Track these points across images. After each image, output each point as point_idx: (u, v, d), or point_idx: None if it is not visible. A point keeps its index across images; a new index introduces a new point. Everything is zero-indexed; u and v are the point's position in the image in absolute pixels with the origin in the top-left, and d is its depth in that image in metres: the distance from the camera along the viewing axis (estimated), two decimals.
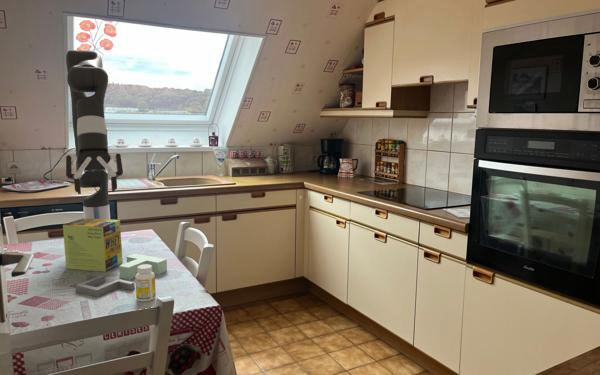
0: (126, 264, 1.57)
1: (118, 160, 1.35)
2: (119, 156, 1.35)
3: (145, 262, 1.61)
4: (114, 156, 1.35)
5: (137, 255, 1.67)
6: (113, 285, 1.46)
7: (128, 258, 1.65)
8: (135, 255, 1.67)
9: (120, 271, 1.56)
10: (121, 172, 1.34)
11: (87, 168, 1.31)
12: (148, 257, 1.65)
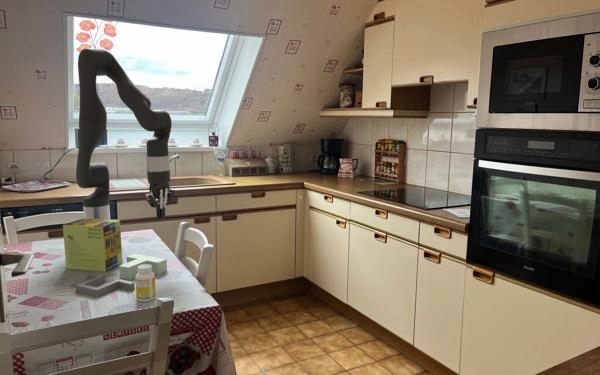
0: (126, 264, 1.57)
1: (171, 194, 1.71)
2: (173, 192, 1.72)
3: (145, 262, 1.61)
4: (170, 189, 1.72)
5: (137, 255, 1.67)
6: (113, 285, 1.46)
7: (128, 258, 1.65)
8: (135, 255, 1.67)
9: (120, 271, 1.56)
10: (168, 203, 1.70)
11: None
12: (148, 257, 1.65)
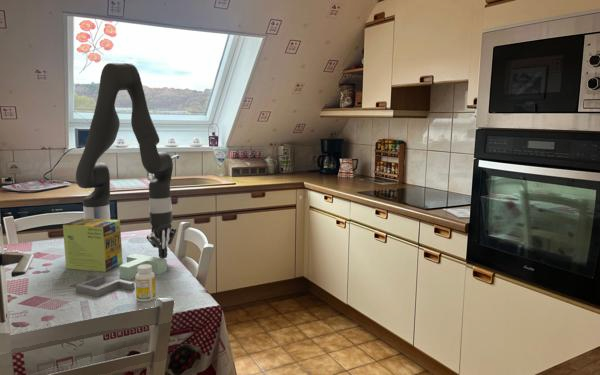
0: (126, 264, 1.57)
1: (173, 234, 1.74)
2: (175, 231, 1.74)
3: (145, 262, 1.61)
4: (172, 229, 1.74)
5: (137, 255, 1.67)
6: (113, 285, 1.46)
7: (128, 258, 1.65)
8: (135, 255, 1.67)
9: (120, 271, 1.56)
10: (170, 243, 1.72)
11: None
12: (148, 257, 1.65)
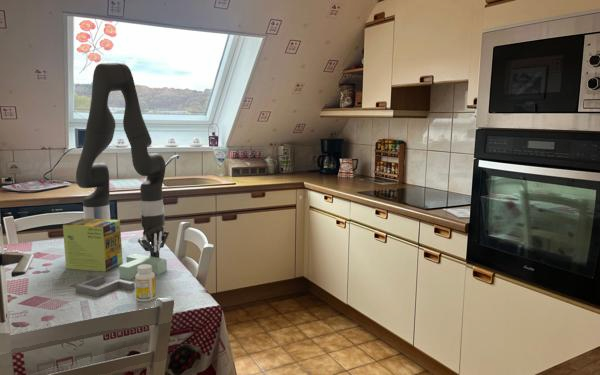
0: (126, 264, 1.57)
1: (165, 237, 1.70)
2: (167, 234, 1.71)
3: (145, 262, 1.61)
4: (164, 232, 1.70)
5: (137, 255, 1.67)
6: (113, 285, 1.46)
7: (128, 258, 1.65)
8: (134, 255, 1.67)
9: (120, 271, 1.56)
10: (162, 246, 1.69)
11: None
12: (148, 257, 1.65)
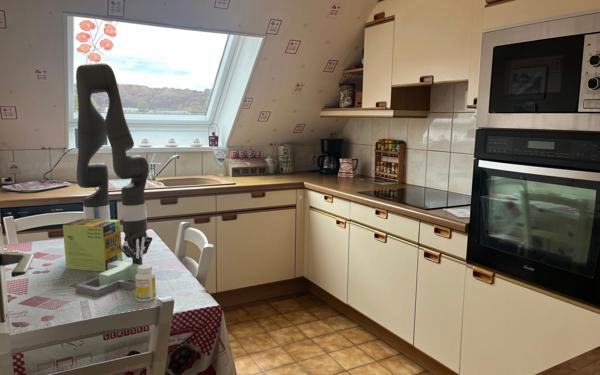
0: (106, 272, 1.50)
1: (149, 242, 1.63)
2: (151, 240, 1.63)
3: (127, 269, 1.54)
4: (147, 237, 1.63)
5: (119, 262, 1.59)
6: (113, 285, 1.46)
7: (109, 265, 1.58)
8: (116, 262, 1.60)
9: (100, 279, 1.49)
10: (145, 252, 1.62)
11: None
12: (130, 264, 1.57)
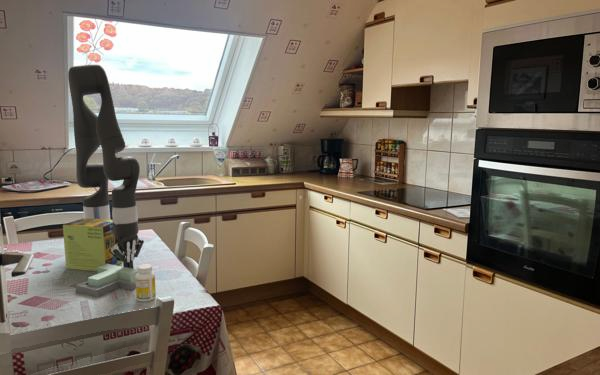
0: (96, 276, 1.47)
1: (140, 245, 1.59)
2: (142, 243, 1.60)
3: (117, 273, 1.50)
4: (139, 240, 1.60)
5: (109, 265, 1.56)
6: (113, 285, 1.46)
7: (99, 269, 1.54)
8: (107, 265, 1.56)
9: (89, 283, 1.45)
10: (137, 255, 1.58)
11: None
12: (120, 268, 1.54)
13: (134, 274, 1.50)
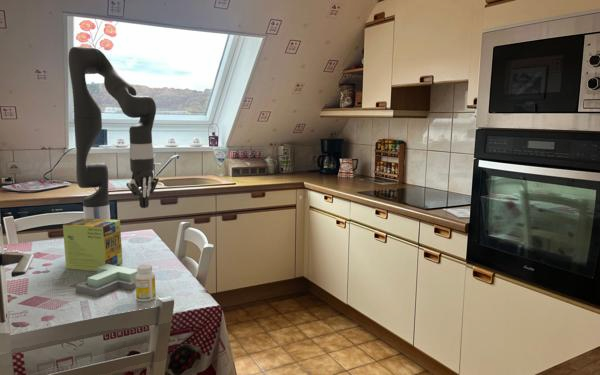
0: (95, 276, 1.46)
1: (155, 183, 1.67)
2: (157, 181, 1.68)
3: (116, 273, 1.50)
4: (154, 178, 1.67)
5: (109, 266, 1.56)
6: (113, 285, 1.46)
7: (99, 269, 1.54)
8: (106, 265, 1.56)
9: (88, 284, 1.45)
10: (152, 192, 1.66)
11: None
12: (120, 268, 1.54)
13: (134, 274, 1.50)
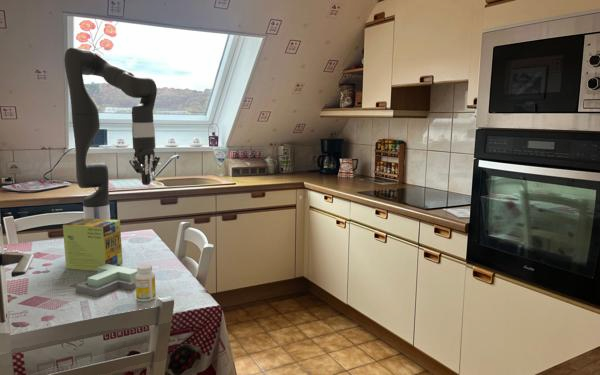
0: (95, 276, 1.46)
1: (157, 161, 1.75)
2: (158, 159, 1.75)
3: (116, 273, 1.50)
4: (155, 157, 1.75)
5: (109, 266, 1.56)
6: (113, 285, 1.46)
7: (99, 269, 1.54)
8: (106, 265, 1.56)
9: (88, 284, 1.45)
10: (153, 170, 1.74)
11: None
12: (120, 268, 1.54)
13: (134, 274, 1.50)
